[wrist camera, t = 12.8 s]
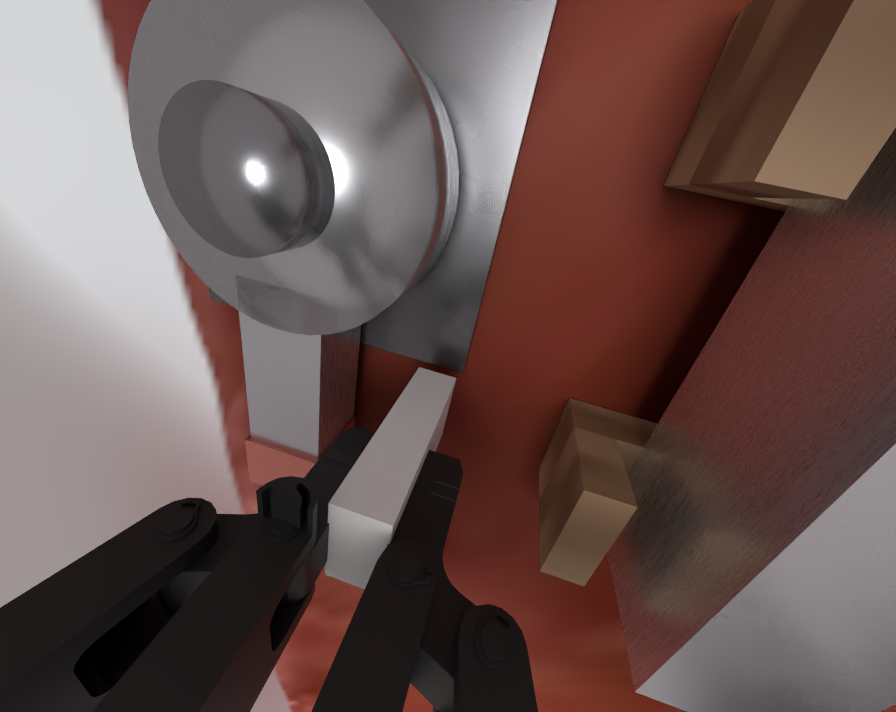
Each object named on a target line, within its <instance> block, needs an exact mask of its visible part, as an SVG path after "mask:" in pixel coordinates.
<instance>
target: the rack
mask: <svg viewBox="0 0 896 712" xmlns="http://www.w3.org/2000/svg"><path fill="white" fill-rule="evenodd" d="M895 128H896V0H753V1H751V2H750V3H749V4H748V5H747V6H746V7H745V8H744V9H742V10H741V11H740V13H739V15H738V17H737V20H736V22H735V24H734V26H733V29H732V31H731V33H730V35H729V38H728V40H727V42H726V44H725V47H724V49H723V51H722V53H721V56H720V58H719V60H718V63H717V65H716V67H715V69H714V72H713V74H712V76H711V78H710V81H709V83H708V85H707V87H706V90H705V92H704V94H703V97H702V99H701V101H700V103H699V106H698V108H697V110H696V112H695V115H694V117H693V119H692V121H691V124H690V126H689V128H688V131H687V133H686V135H685V137H684V140H683V142H682V144H681V146H680V149H679V151H678V153H677V155H676V158H675V160H674V162H673V165H672V167H671V169H670V171H669V174H668V176H667V178H666V180H665V183H664V185H663V186H666V187H671V188H675V189H680V190H685V191H690V192H694V193H699V194H704V195H708V196H713V197H718V198H723V199H727V200H732V201H737V202H741V203H746V204H751V205H756V206H760V207H765V208H770V209H775V210H779V211H784V212H786V210H787V208H788V207H789V205H790V203H791V202H792V200H793V199H829V200H847V198H848V197H849V195H850V194H851V192H852V191H853V190H854V188H855V187H856V185H857V184H858V182H859V181H860V179H861V178H862V176H863V175H864V173H865V172H866V170H867V169H868V167H869V166H870V164H871V163H872V162H873V160H874V159H875V157H876V156H877V154H878V153H879V151H880V150H881V148H882V147H883V145H884V144H885V142H886V141H887V139H888V138H889V136H890V135H891V134H892V132H893V131H894V129H895ZM657 424H658V423H654V422H651V421H647V420H644V419H641V418H637V417H634V416H630V415H627V414H623V413H620V412H616V411H613V410H610V409H606V408H603V407H599V406H596V405H592V404H589V403H585V402H582V401H579V400H575V399H572V398H569V400H568V403H567V405H566V407H565V409H564V412H563V414H562V416H561V418H560V421H559V423H558V425H557V427H556V430H555V432H554V434H553V437H552V439H551V441H550V443H549V446H548V448H547V450H546V452H545V455H544V457H543V459H542V461H541V464H540V466H539V535H540V571H541V572H544V573H547V574H550V575H553V576H555V577H558V578H561V579H564V580H567V581H570V582H572V583H575V584H578V585H581V586H585V584H586V583H587V582H588V580H589V579H590V577H591V576H592V574H593V573H594V571H595V570H596V568H597V567H598V565H599V564H600V562H601V561H602V559H603V558H604V556H605V555H606V554H607V552H608V551H609V549H610V548H611V546H612V545H613V543H614V542H615V540H616V539H617V537H618V536H619V534H620V533H621V531H622V530H623V528H624V527H625V526H626V524H627V523H628V521H629V520H630V518H631V517H632V515H633V514H634V512H635V511H636V509H637V508H638V506H637V503H636V500H635V497H634V494H633V491H632V488H631V484H630V481H629V478H628V475H627V474H628V472H629V471H630V469H631V467H632V466H633V464H634V462H635V461H636V459H637V457H638V456H639V454H640V452H641V451H642V449H643V447H644V446H645V444H646V442H647V441H648V439H649V437H650V436H651V434H652V432H653V431H654V429H655V427H656V426H657Z"/></svg>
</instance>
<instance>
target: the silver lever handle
mask: <svg viewBox="0 0 896 712" xmlns="http://www.w3.org/2000/svg"><path fill="white" fill-rule="evenodd" d="M128 109H129V123H130V130H131V136H132V143H133V148H134V152H135V156H136V160H137V164H138V168H139V171H140V175H141V177H142V180H143V183H144V186H145V189H146V192H147V194H148V197H149V199H150V201H151V204H152V206H153V208H154V210H155V213H156V215H157V217H158V218H159V220H160V222H161V224H162V226H163V228H164V230H165V232H166V233H167V235H168V236H169V238H170V240H171V241H172V243H173V244H174V246H175V247H176V249H177V250H178V252H179V253H180V254H181V256H182V257H183V258H184V260H185V261H186V262H187V264H188V265H189V266H190V267H191V269H192V270H193V271H194V272H195V273H196V274H197V275H198V276H199V277H200V279H201V280H202V281H203V282H204V283H205V284H206V285H207V286H208V287H210V288H211V289H212V290H213V291H214V292H215V293H216V294H217V295H218V296H219V297H221V298H222V299H223V300H225V301H226V302H227V303H229V304H230V305H231V306H232V307H234V308H236V309H237V310H239V317H240V328H241V338H242V348H243V359H244V369H245V380H246V390H247V401H248V411H249V422H250V432H251V435H250V436H249V437H248V438H246V439H245V443H246V452H247V462H248V471H249V481H251V482H254V483H256V484H259V485H262V486H263V485H264V484H266V483H267V482H270V481H272V480H275V479H277V478H280V477H288V476H294V477H300V478H304V477H305V476H306V475H307V473H308V472H309V471H310V470H311V469H312V467H313V466H314V465H315V464H316V462H317V461H318V460H319V459H321V457H322V455H323V454H324V453H325V451H326V450H327V449H329V447H330V445H331V444H332V443H333V441H334V440H335V439H336V438H337V437H338V435H339V434H341V433H342V432H344V431H346V430H348V429H349V428H351V427H353V426H354V427H355V417H353V416H354V404H355V392H356V380H357V369H358V357H359V345H360V333H361V325H362V324H363V323H365V322H367V321H369V320H371V319H373V318H374V317H375V316H377V315H378V314H379V313H381V312H382V311H383V310H385V309H386V308H387V307H389V306H390V305H391V304H392V303H394V302H395V301H396V300H398V299H399V298H400V297H402V296H403V295H404V294H405V293H407V292H408V291H409V290H411V289H412V288H413V287H415V286H416V285H417V284H418V283H419V282H420V281H421V280H422V279H423V278H424V277H425V276H426V275H427V274H428V273H429V271H430V270H431V269H432V267H433V266H434V265H435V263H436V262H437V260H438V259H439V257H440V255H441V253H442V251H443V250H444V248H445V246H446V243H447V241H448V238H449V235H450V233H451V230H452V227H453V223H454V219H455V215H456V210H457V202H458V195H459V166H458V156H457V149H456V144H455V139H454V135H453V130H452V127H451V124H450V121H449V118H448V115H447V112H446V109H445V106H444V104H443V102H442V100H441V98H440V96H439V94H438V92H437V90H436V87H435V86H434V84H433V83H432V81H431V79H430V78H429V76H428V75H427V73H426V72H425V70H424V68H423V67H422V66H421V65H420V63H419V62H418V61H417V60H416V59H415V57H414V56H413V55H412V54H411V53H410V51H409V50H408V49H407V48H406V47H405V46H404V45H403V44H402V42H401V41H400V40H399V39H398V38H397V37H396V36H395V35H394V34H393V32H392V31H391V30H390V29H389V28H388V27H387V26H386V25H385V24H384V22H383V21H382V20H381V19H380V18H379V17H378V16H377V15H376V14H375V12H374V11H373V10H372V9H371V8H370V7H369V6H368V5H367V4H366V2H365V1H364V0H151V2H150V3H149V5H148V7H147V10H146V12H145V14H144V16H143V19H142V21H141V23H140V25H139V29H138V32H137V36H136V39H135V42H134V46H133V50H132V56H131V63H130V69H129V82H128Z"/></svg>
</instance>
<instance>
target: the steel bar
mask: <svg viewBox="0 0 896 712" xmlns="http://www.w3.org/2000/svg"><path fill="white" fill-rule="evenodd" d="M627 475H628V478H629V481H630V484H631V488H632V491H633V494H634V497H635V500H636V503H637V506H638V508H637V509H636V511H635V512H634V514H633V515H632V517H631V518H630V520H629V521H628V523H627V524H626V526H625V527H624V528H623V530H622V531H621V533H620V534H619V536H618V537H617V539H616V540H615V542H614V543H613V545H612V546H611V548H610V549H609V551H608V557H609V562H610V568H611V573H612V578H613V583H614V588H615V593H616V598H617V603H618V608H619V613H620V618H621V624H622V629H623V634H624V639H625V644H626V649H627V654H628V659H629V664H630V669H631V674H632V680H633V685H634V690H635V692H636V693H639V694H642V695H644V696H647V697H650V698H652V699H655V700H658V701H660V702H663V703H666V704H668V705H671V706H674V707H676V708H679V709H681V710H684V711H687V712H881V711H883V710H885V709H887V708H889V707H891V706H893V705H895V704H896V128H895V129H894V131H893V132H892V134H891V135H890V136H889V138H888V139H887V141H886V142H885V144H884V145H883V147H882V148H881V150H880V151H879V153H878V154H877V156H876V157H875V159H874V160H873V162H872V163H871V164H870V166H869V167H868V169H867V170H866V172H865V173H864V175H863V176H862V178H861V179H860V181H859V182H858V184H857V185H856V187H855V188H854V190H853V191H852V192H851V194H850V195H849V197H848V198H847V200H829V199H793V200H792V202H791V203H790V205H789V207H788V208H787V210H786V212H785V213H784V215H783V217H782V218H781V220H780V221H779V223H778V225H777V226H776V228H775V230H774V231H773V233H772V235H771V236H770V238H769V240H768V241H767V243H766V245H765V246H764V248H763V250H762V251H761V253H760V255H759V256H758V258H757V260H756V261H755V263H754V265H753V266H752V268H751V270H750V271H749V273H748V275H747V276H746V278H745V280H744V281H743V283H742V285H741V286H740V288H739V290H738V291H737V293H736V295H735V296H734V298H733V300H732V301H731V303H730V305H729V306H728V308H727V310H726V311H725V313H724V315H723V316H722V318H721V320H720V321H719V323H718V324H717V326H716V328H715V329H714V331H713V333H712V334H711V336H710V338H709V339H708V341H707V343H706V344H705V346H704V348H703V349H702V351H701V353H700V354H699V356H698V358H697V359H696V361H695V363H694V364H693V366H692V368H691V369H690V371H689V373H688V374H687V376H686V378H685V379H684V381H683V383H682V384H681V386H680V388H679V389H678V391H677V393H676V394H675V396H674V398H673V399H672V401H671V403H670V404H669V406H668V408H667V409H666V411H665V413H664V414H663V416H662V418H661V419H660V421H659V423H658V424H657V426H656V427H655V429H654V431H653V432H652V434H651V436H650V437H649V439H648V441H647V442H646V444H645V446H644V447H643V449H642V451H641V452H640V454H639V456H638V457H637V459H636V461H635V462H634V464H633V466H632V467H631V469H630V471H629V472H628V474H627Z"/></svg>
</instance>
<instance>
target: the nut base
mask: <svg viewBox="0 0 896 712" xmlns="http://www.w3.org/2000/svg"><path fill="white" fill-rule="evenodd" d="M364 1H365V2H366V4H367V5H368V6H369V7H370V8H371V9H372V10H373V11H374V12H375V14H376V15H377V16H378V17H379V18H380V19H381V20H382V21H383V22H384V24H385V25H386V26H387V27H388V28H389V29H390V30H391V31H392V32H393V34H394V35H395V36H396V37H397V38H398V39H399V40H400V41H401V42H402V44H403V45H404V46H405V47H406V48H407V49H408V50H409V51H410V53H411V54H412V55H413V56H414V57H415V59H416V60H417V61H418V62H419V63H420V65H421V66H422V67H423V68H424V70H425V72H426V73H427V75H428V76H429V78H430V79H431V81H432V83H433V84H434V86H435V87H436V90H437V92H438V94H439V96H440V98H441V100H442V102H443V104H444V106H445V109H446V112H447V115H448V118H449V121H450V124H451V127H452V130H453V135H454V139H455V144H456V149H457V156H458V166H459V195H458V202H457V210H456V215H455V219H454V223H453V227H452V230H451V233H450V235H449V238H448V241H447V243H446V246H445V248H444V250H443V251H442V253H441V255H440V257H439V259H438V260H437V262H436V263H435V265H434V266H433V267H432V269H431V270H430V271H429V273H428V274H427V275H426V276H425V277H424V278H423V279H422V280H421V281H420V282H419V283H418V284H417V285H416V286H415V287H413V288H412V289H411V290H409V291H408V292H407V293H405V294H404V295H403V296H402V297H400V298H399V299H398V300H396V301H395V302H394V303H392V304H391V305H390V306H389V307H387V308H386V309H385V310H383V311H382V312H381V313H379V314H378V315H377V316H375V317H374V318H373V319H371V320H369V321H367V322H365V323H363V324H362V325H361V333H360V343H362V344H366V345H369V346H373V347H376V348H379V349H383V350H386V351H390V352H393V353H397V354H400V355H403V356H407V357H410V358H414V359H417V360H420V361H424V362H427V363H431V364H434V365H438V366H441V367H444V368H448V369H451V370H455V371H458V372H461V373H463V371H464V369H465V365H466V361H467V358H468V354H469V350H470V346H471V342H472V338H473V334H474V330H475V326H476V322H477V318H478V314H479V310H480V306H481V302H482V299H483V295H484V291H485V287H486V283H487V279H488V275H489V271H490V267H491V263H492V259H493V255H494V251H495V247H496V243H497V240H498V236H499V232H500V228H501V224H502V220H503V216H504V212H505V208H506V204H507V200H508V196H509V192H510V188H511V184H512V181H513V177H514V173H515V169H516V165H517V161H518V157H519V153H520V149H521V145H522V141H523V137H524V133H525V129H526V125H527V122H528V118H529V114H530V110H531V106H532V102H533V98H534V94H535V90H536V86H537V82H538V78H539V74H540V70H541V66H542V62H543V59H544V55H545V51H546V47H547V43H548V39H549V35H550V31H551V27H552V23H553V19H554V15H555V11H556V7H557V3H558V0H364ZM209 292H210V299H212V300H215V301H219V302H222V303H226V304H229V303H227V302H226V301H225V300H223V299H222V298H221V297H219V296H218V295H217V294H216V293H215V292H214V291H213V290H212V289H211V288H210V287H209ZM229 305H230V304H229Z"/></svg>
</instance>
